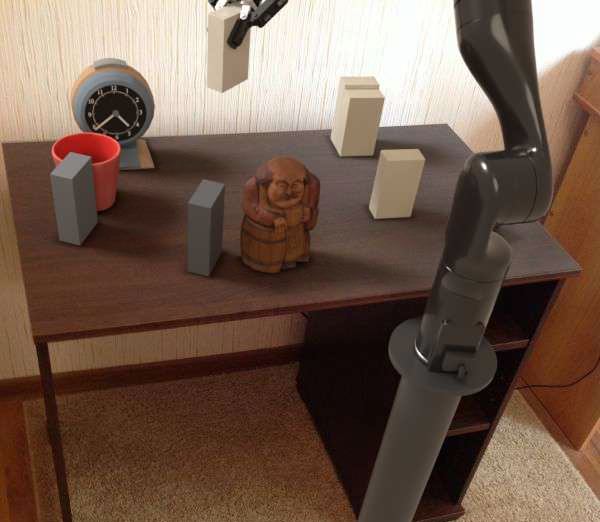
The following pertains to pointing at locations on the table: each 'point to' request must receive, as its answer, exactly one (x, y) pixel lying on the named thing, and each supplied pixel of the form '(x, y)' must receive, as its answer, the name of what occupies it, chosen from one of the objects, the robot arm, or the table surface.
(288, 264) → the wooden figurine
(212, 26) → the beige block
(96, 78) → the alarm clock
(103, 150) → the flower pot
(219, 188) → the pair of grey blocks
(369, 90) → the cream books
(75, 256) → the table surface
